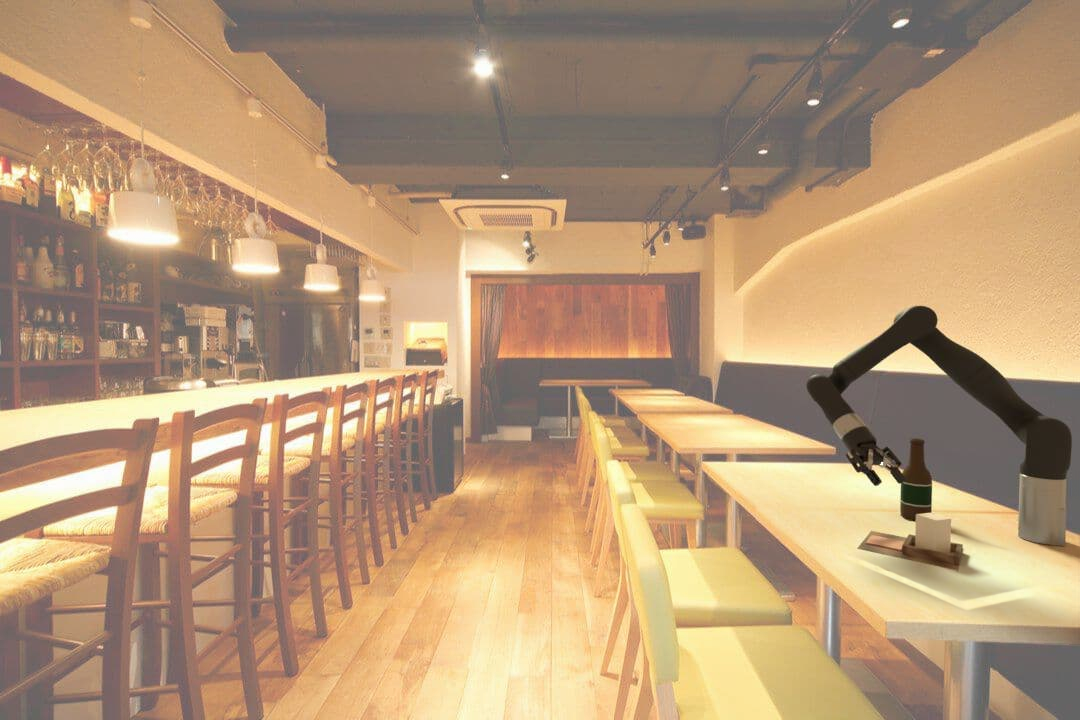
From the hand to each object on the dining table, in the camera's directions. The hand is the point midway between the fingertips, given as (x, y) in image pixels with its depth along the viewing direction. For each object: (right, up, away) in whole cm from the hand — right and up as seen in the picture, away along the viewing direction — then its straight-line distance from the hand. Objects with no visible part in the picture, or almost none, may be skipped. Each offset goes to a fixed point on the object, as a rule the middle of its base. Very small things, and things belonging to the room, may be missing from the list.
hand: (890, 483), depth 144 cm
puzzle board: (0, -16, -7) cm, 18 cm away
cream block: (+3, -15, -10) cm, 18 cm away
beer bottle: (+21, -16, +22) cm, 34 cm away
